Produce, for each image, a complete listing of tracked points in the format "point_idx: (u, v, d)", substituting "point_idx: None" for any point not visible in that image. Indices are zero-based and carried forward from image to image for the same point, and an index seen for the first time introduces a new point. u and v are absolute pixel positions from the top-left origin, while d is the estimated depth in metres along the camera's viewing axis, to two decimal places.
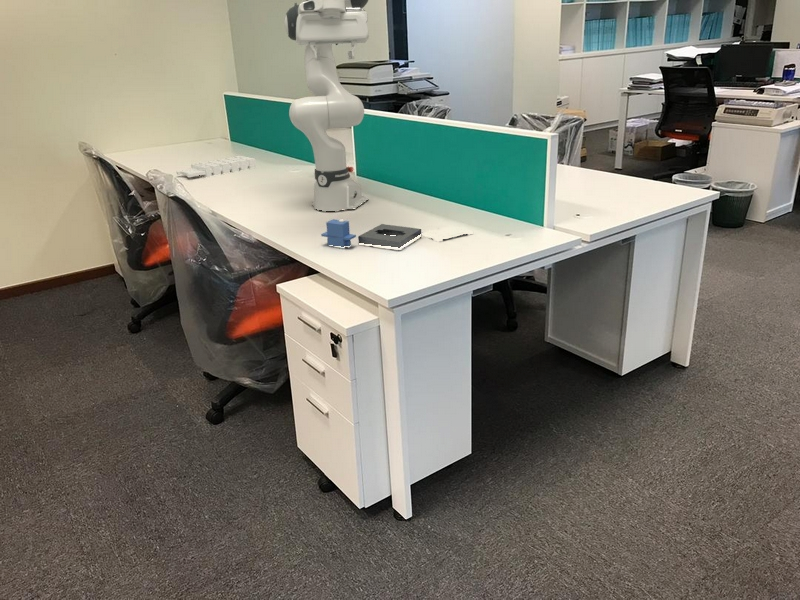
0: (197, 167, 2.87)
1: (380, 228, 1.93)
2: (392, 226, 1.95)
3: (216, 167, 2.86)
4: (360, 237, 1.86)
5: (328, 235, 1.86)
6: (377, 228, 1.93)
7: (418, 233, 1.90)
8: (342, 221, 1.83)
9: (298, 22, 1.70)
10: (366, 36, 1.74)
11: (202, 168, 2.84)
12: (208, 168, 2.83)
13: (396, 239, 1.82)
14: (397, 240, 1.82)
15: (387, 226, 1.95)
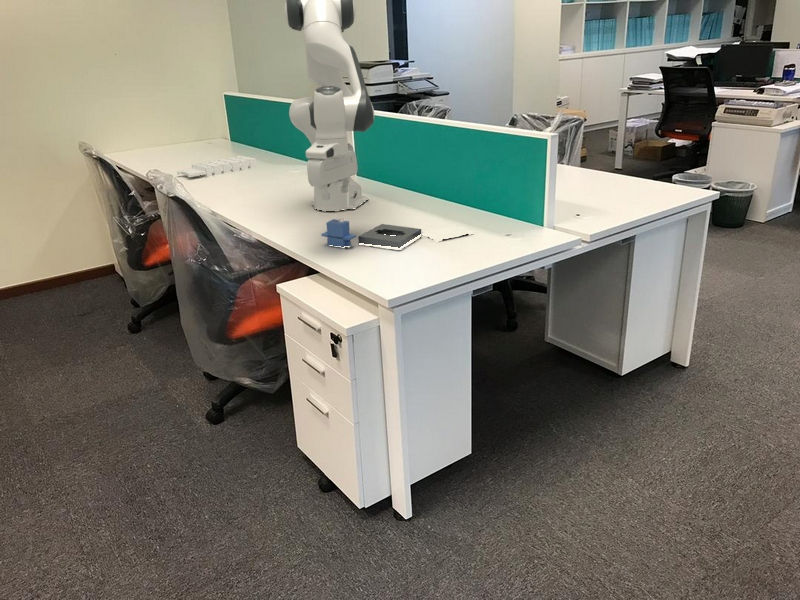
0: (198, 167, 2.87)
1: (380, 228, 1.93)
2: (392, 226, 1.95)
3: (217, 167, 2.86)
4: (360, 237, 1.86)
5: (328, 235, 1.86)
6: (377, 228, 1.93)
7: (418, 233, 1.90)
8: (342, 221, 1.83)
9: (321, 169, 1.69)
10: (356, 172, 1.86)
11: (203, 168, 2.84)
12: (209, 168, 2.84)
13: (396, 239, 1.82)
14: (397, 240, 1.82)
15: (387, 226, 1.95)
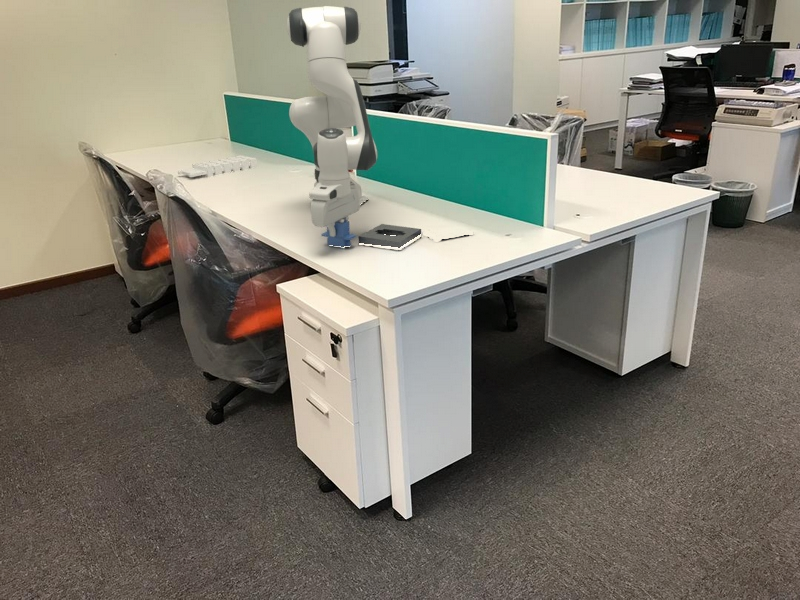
0: (198, 167, 2.88)
1: (380, 228, 1.93)
2: (392, 226, 1.95)
3: (217, 167, 2.87)
4: (360, 237, 1.86)
5: (328, 235, 1.86)
6: (377, 228, 1.93)
7: (418, 233, 1.90)
8: (342, 221, 1.83)
9: (324, 211, 1.74)
10: (358, 208, 1.90)
11: (204, 168, 2.85)
12: (210, 168, 2.84)
13: (396, 239, 1.82)
14: (397, 240, 1.82)
15: (387, 226, 1.95)
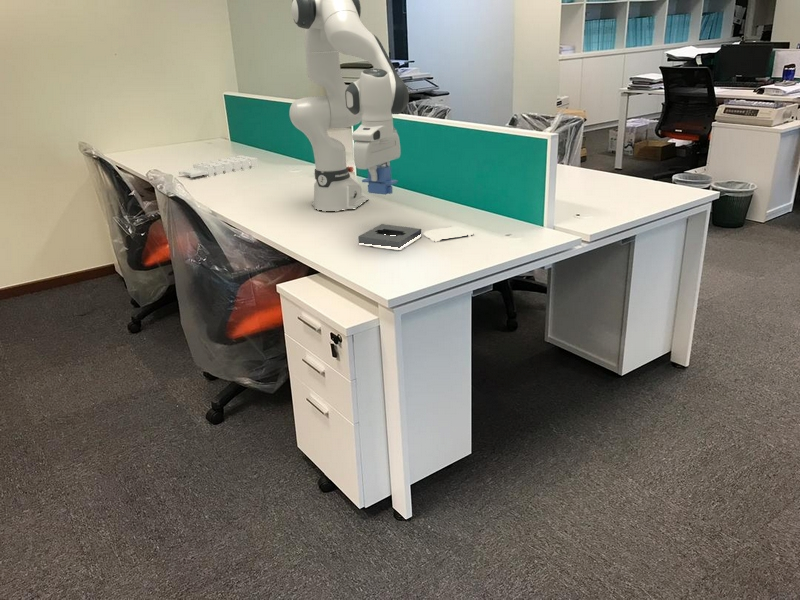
0: (199, 167, 2.88)
1: (380, 228, 1.93)
2: (392, 226, 1.95)
3: (218, 167, 2.87)
4: (360, 237, 1.86)
5: (369, 180, 1.81)
6: (377, 228, 1.93)
7: (418, 233, 1.90)
8: (384, 165, 1.79)
9: (368, 151, 1.70)
10: (399, 155, 1.86)
11: (204, 168, 2.85)
12: (210, 168, 2.84)
13: (396, 239, 1.82)
14: (397, 240, 1.82)
15: (387, 226, 1.95)
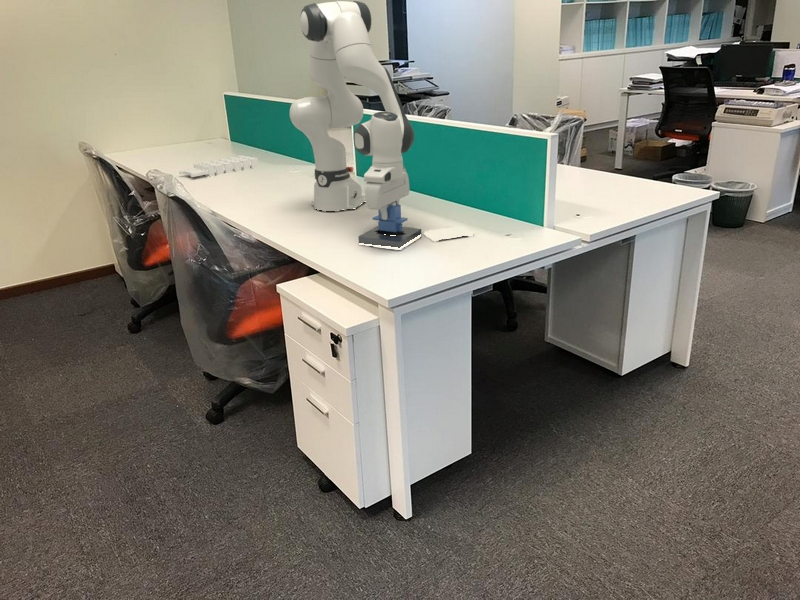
0: (200, 167, 2.88)
1: None
2: None
3: (219, 167, 2.87)
4: (360, 237, 1.86)
5: (380, 218, 1.87)
6: (377, 228, 1.93)
7: (418, 233, 1.90)
8: (394, 204, 1.84)
9: (379, 193, 1.75)
10: (408, 193, 1.91)
11: (205, 168, 2.85)
12: (211, 168, 2.84)
13: (396, 239, 1.82)
14: (397, 240, 1.82)
15: None
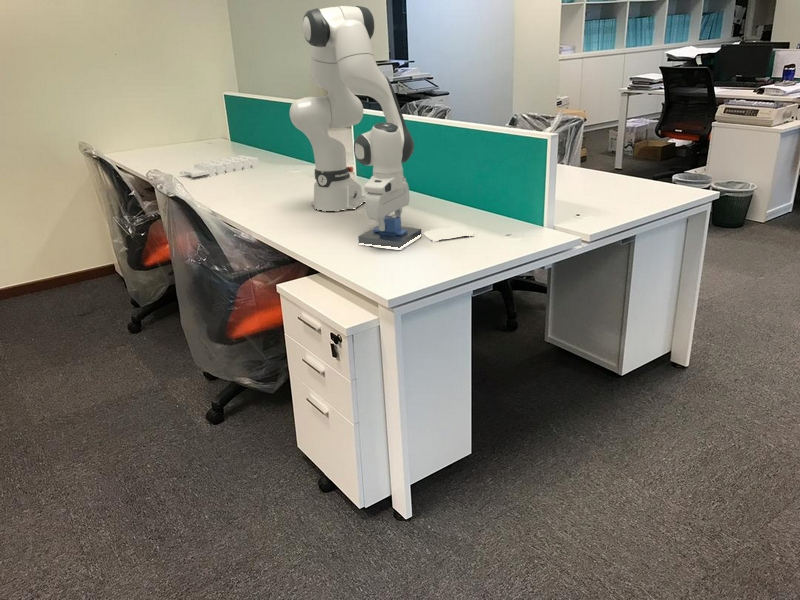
0: (200, 167, 2.88)
1: None
2: None
3: (220, 167, 2.87)
4: (360, 237, 1.86)
5: None
6: None
7: (418, 233, 1.90)
8: (394, 217, 1.86)
9: (380, 203, 1.76)
10: (408, 202, 1.93)
11: (206, 168, 2.85)
12: (212, 168, 2.84)
13: (396, 239, 1.82)
14: (397, 240, 1.82)
15: None
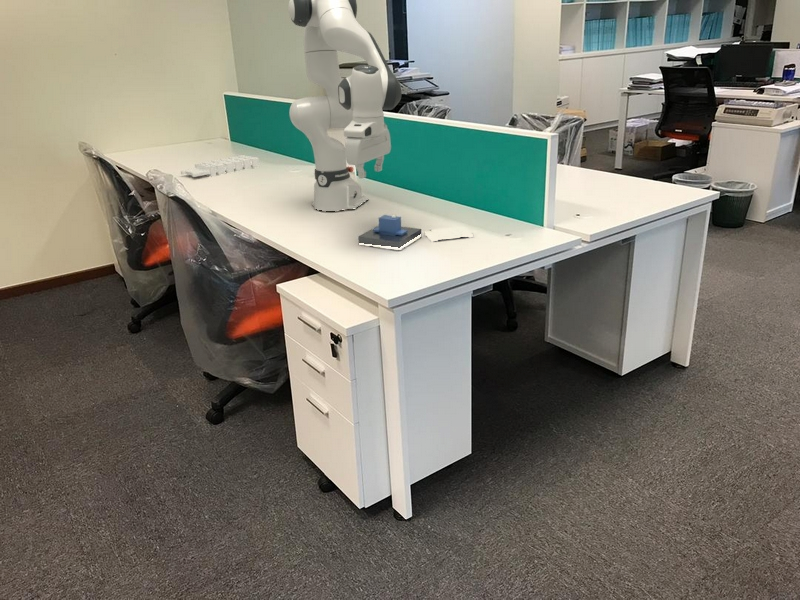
0: (201, 167, 2.88)
1: None
2: None
3: (220, 166, 2.87)
4: (360, 237, 1.86)
5: (380, 230, 1.88)
6: None
7: (418, 233, 1.90)
8: (394, 217, 1.86)
9: (359, 148, 1.72)
10: None
11: (207, 168, 2.85)
12: (213, 167, 2.84)
13: (396, 239, 1.82)
14: (397, 240, 1.82)
15: None
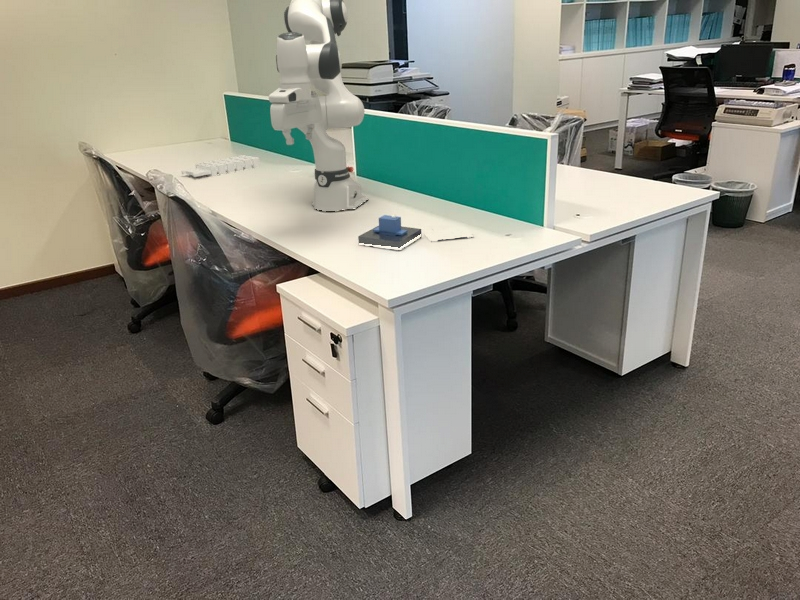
0: (202, 167, 2.88)
1: None
2: None
3: (221, 166, 2.87)
4: (360, 237, 1.86)
5: (380, 230, 1.88)
6: None
7: (418, 233, 1.90)
8: (394, 217, 1.86)
9: (283, 113, 1.74)
10: (321, 119, 1.91)
11: (207, 167, 2.85)
12: (213, 167, 2.85)
13: (396, 239, 1.82)
14: (397, 240, 1.82)
15: None
